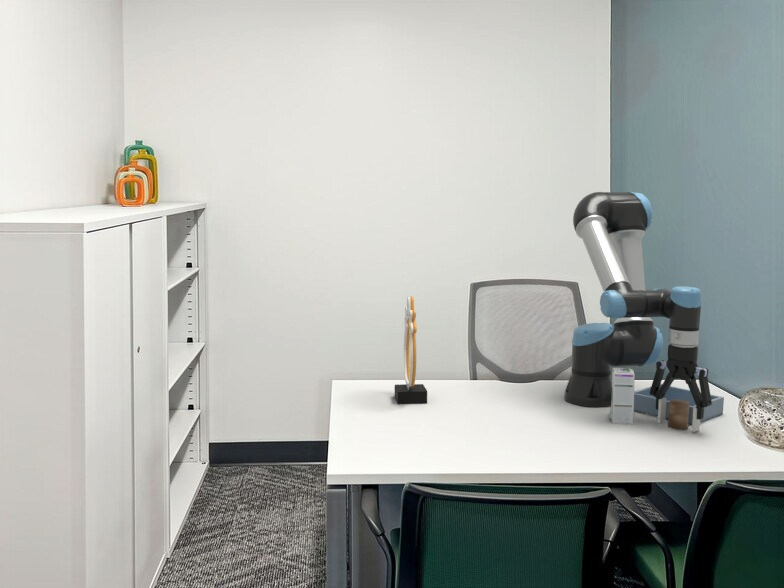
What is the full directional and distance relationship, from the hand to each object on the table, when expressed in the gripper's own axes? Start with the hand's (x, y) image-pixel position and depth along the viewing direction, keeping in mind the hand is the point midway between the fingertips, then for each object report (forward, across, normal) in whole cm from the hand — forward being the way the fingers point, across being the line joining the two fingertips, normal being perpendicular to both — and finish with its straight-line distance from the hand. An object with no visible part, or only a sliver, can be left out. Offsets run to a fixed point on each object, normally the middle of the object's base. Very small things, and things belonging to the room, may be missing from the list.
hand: (678, 426), depth 209 cm
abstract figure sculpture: (0, -66, -38) cm, 76 cm away
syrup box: (+1, -13, -7) cm, 15 cm away
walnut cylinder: (0, 0, 0) cm, 0 cm away
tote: (0, -8, +13) cm, 15 cm away
